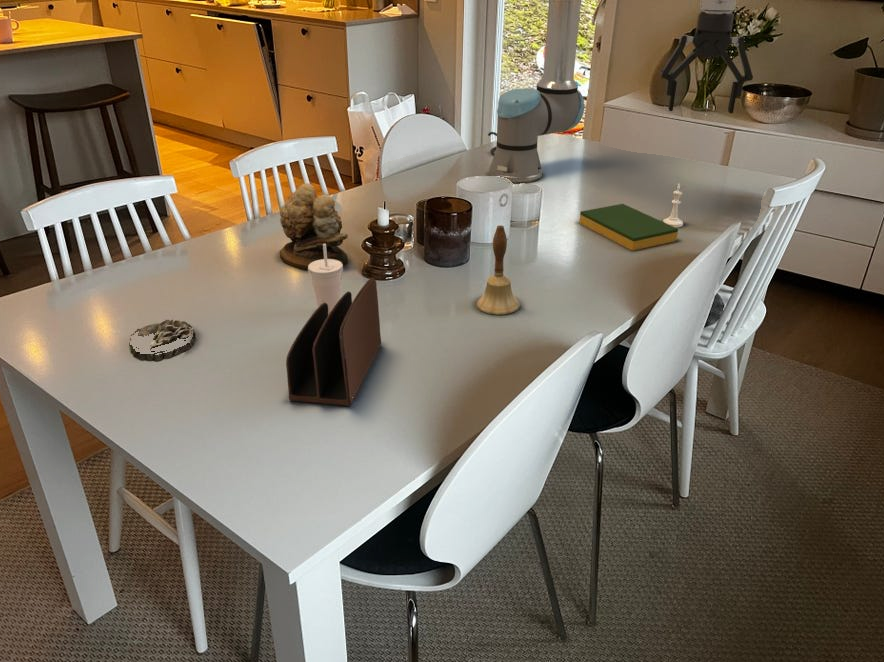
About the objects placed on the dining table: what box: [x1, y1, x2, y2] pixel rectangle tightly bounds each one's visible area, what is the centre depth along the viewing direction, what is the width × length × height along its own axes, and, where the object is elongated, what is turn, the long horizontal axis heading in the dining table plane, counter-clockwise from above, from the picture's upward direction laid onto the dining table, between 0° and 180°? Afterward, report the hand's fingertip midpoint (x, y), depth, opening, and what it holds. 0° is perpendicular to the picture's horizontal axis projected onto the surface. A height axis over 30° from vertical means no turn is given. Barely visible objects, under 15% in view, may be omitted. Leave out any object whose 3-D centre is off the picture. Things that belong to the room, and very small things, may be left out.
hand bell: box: [476, 224, 521, 316], centre depth 140 cm, size 8×8×16 cm
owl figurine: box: [279, 182, 349, 271], centre depth 159 cm, size 18×12×17 cm, turn 57°
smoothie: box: [307, 244, 344, 315], centre depth 138 cm, size 6×6×14 cm
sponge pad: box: [579, 203, 679, 251], centre depth 178 cm, size 20×13×3 cm, turn 27°
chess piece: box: [662, 183, 684, 229], centre depth 180 cm, size 5×5×10 cm
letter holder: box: [285, 277, 382, 407], centre depth 119 cm, size 10×20×14 cm, turn 171°
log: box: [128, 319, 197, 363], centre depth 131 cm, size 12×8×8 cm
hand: (700, 111), depth 175 cm, fingers open, 13 cm apart
